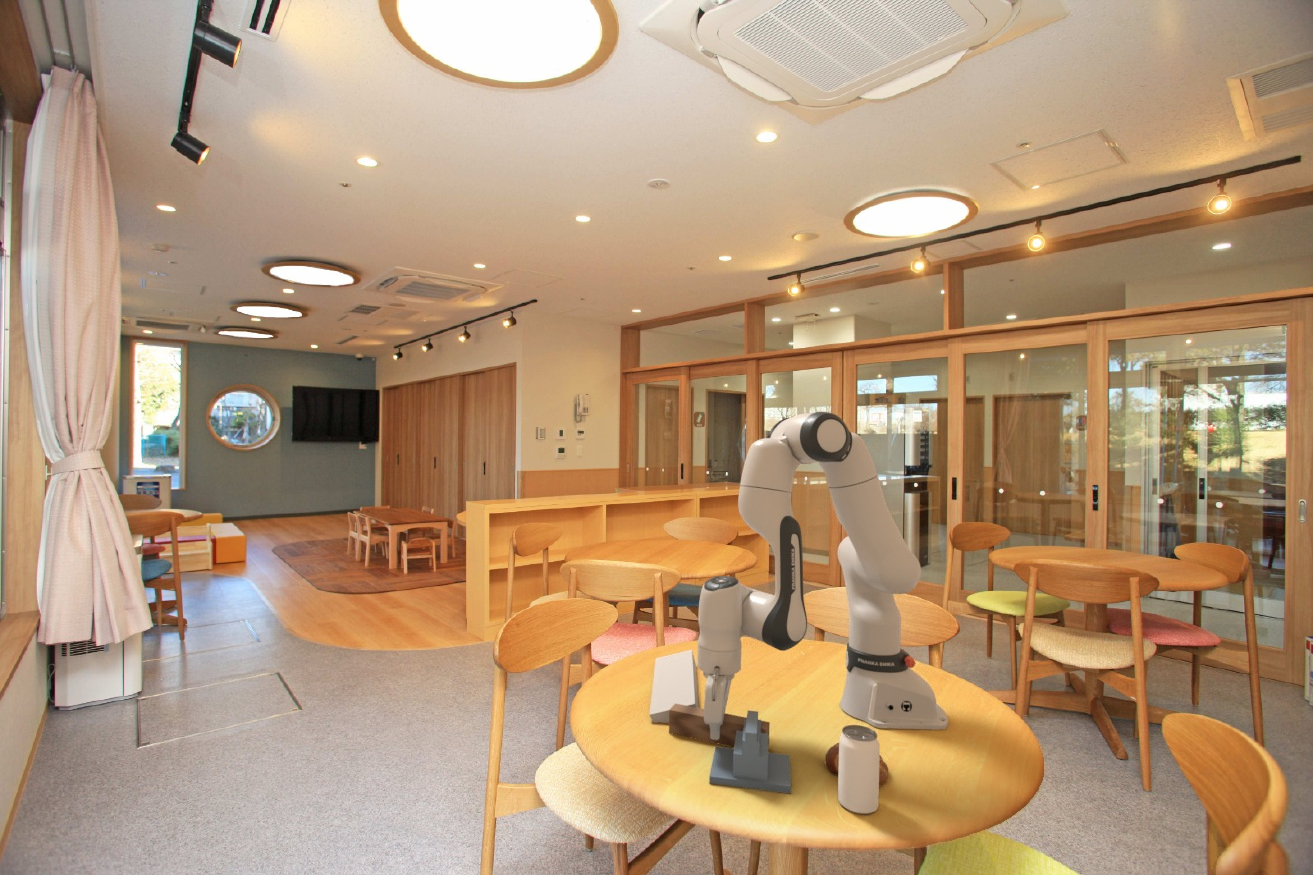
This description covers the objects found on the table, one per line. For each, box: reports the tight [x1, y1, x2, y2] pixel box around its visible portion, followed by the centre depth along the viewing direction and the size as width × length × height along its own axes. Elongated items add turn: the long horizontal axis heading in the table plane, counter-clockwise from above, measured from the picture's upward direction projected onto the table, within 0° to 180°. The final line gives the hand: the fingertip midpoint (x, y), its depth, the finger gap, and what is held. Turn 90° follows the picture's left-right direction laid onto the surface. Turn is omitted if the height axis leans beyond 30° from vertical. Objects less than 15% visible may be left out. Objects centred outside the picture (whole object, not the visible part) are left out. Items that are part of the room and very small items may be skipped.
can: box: [837, 724, 881, 815], centre depth 105 cm, size 6×6×12 cm
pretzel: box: [824, 742, 889, 787], centre depth 116 cm, size 12×11×4 cm
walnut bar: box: [668, 704, 770, 748], centre depth 126 cm, size 20×3×5 cm, turn 67°
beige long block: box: [649, 649, 700, 724], centre depth 150 cm, size 34×5×10 cm
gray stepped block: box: [708, 710, 792, 794], centre depth 114 cm, size 14×11×9 cm
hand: (717, 727), depth 126 cm, fingers open, 8 cm apart
